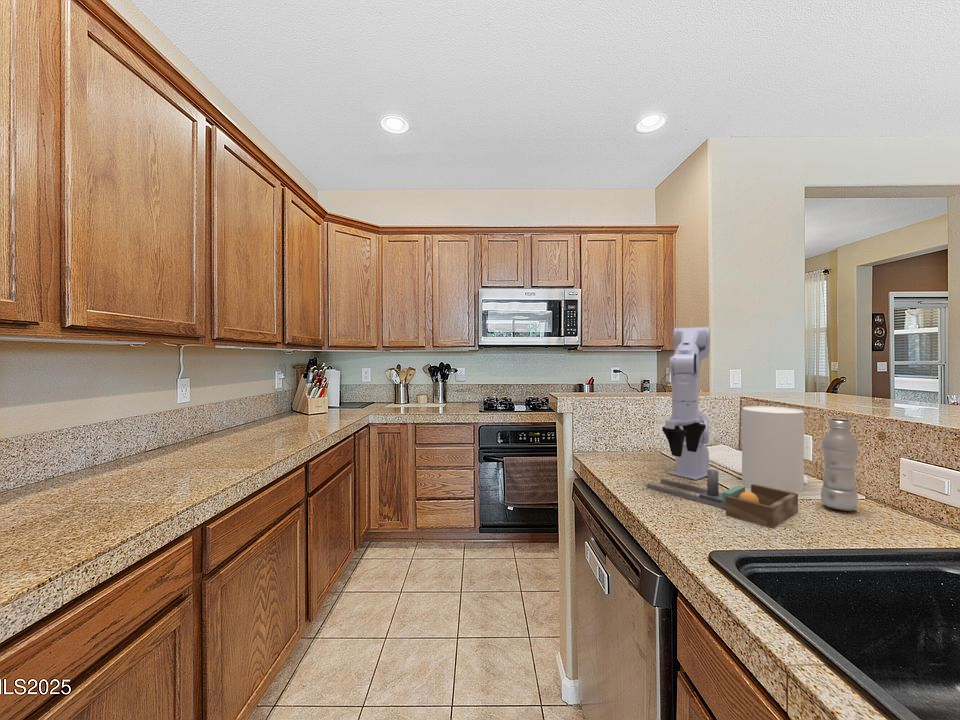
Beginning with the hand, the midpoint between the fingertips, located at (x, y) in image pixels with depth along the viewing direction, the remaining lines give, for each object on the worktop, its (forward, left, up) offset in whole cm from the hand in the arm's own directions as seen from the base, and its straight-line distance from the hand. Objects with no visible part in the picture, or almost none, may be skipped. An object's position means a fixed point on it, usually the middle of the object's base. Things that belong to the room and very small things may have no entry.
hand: (684, 453), depth 110 cm
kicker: (+2, +9, -9) cm, 13 cm away
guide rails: (+2, +3, -9) cm, 10 cm away
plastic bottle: (-14, +28, -10) cm, 33 cm away
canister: (-22, +12, -10) cm, 27 cm away
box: (+2, +18, -9) cm, 20 cm away
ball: (+2, +16, -7) cm, 18 cm away
